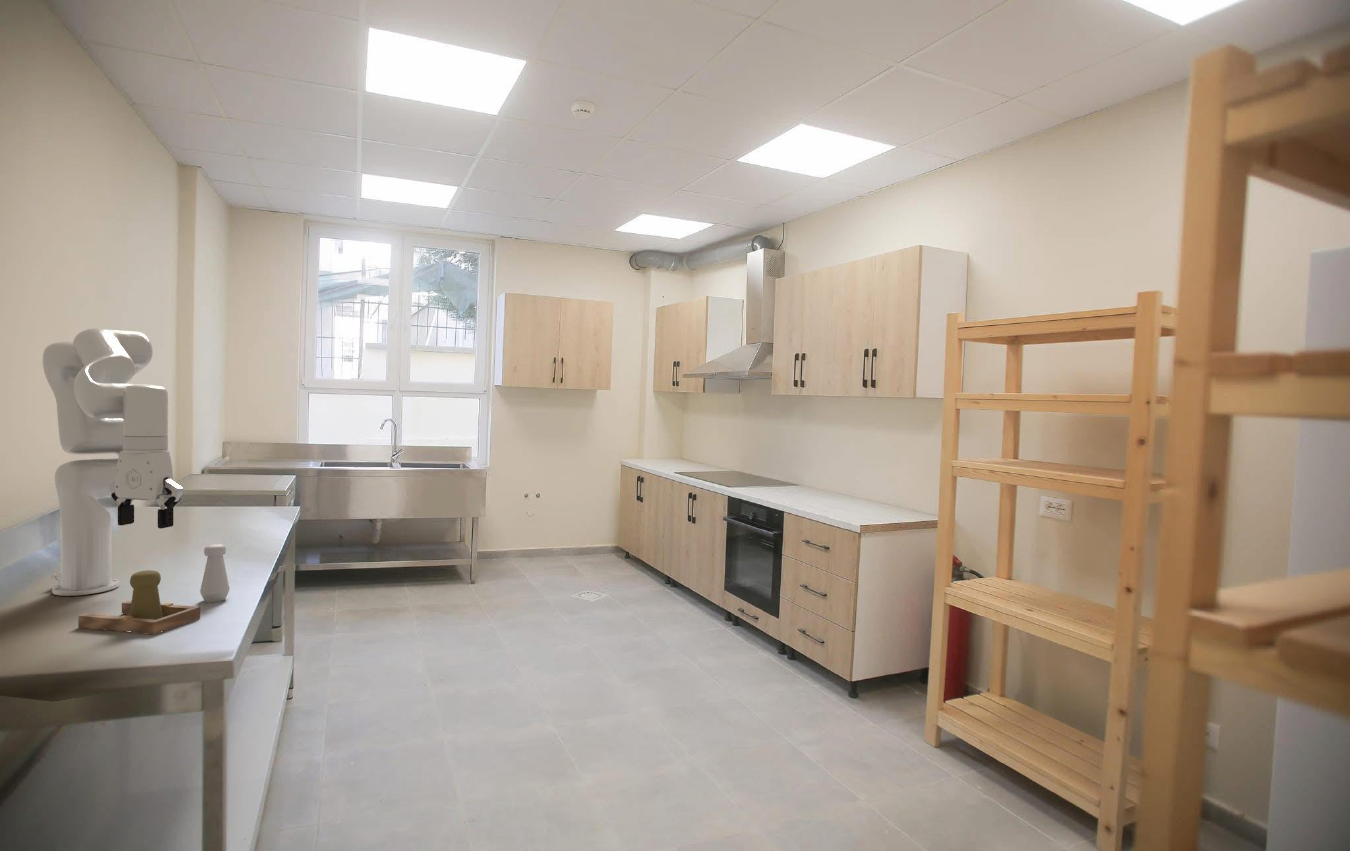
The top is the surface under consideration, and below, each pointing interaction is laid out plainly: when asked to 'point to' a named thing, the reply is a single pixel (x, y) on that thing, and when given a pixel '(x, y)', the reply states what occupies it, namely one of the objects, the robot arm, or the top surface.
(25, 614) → the top surface
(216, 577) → the salt shaker
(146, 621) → the wooden u-shaped frame
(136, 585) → the pepper shaker
